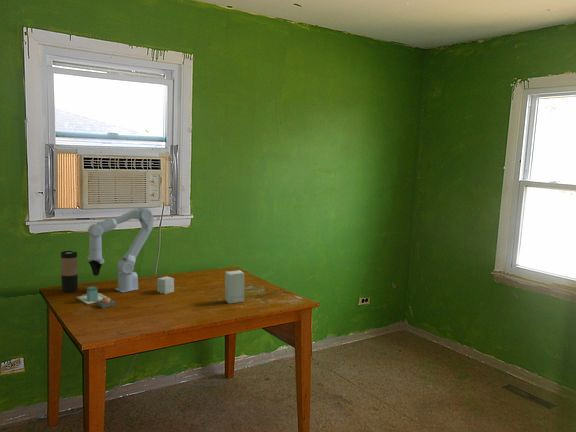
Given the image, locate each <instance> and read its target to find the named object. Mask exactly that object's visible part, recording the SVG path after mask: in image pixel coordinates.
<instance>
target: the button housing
mask: <svg viewBox="0 0 576 432" xmlns="http://www.w3.org/2000/svg"><path fill="white" fill-rule="evenodd" d="M111 299H112V298H111ZM111 299H110V302H108V303H102V300H101V301H97V303H96V306H97V305H98V306H97V307H99V306H100V307H99V308H101V307H102V308H101V309H106V308H105V307H108V308H111V307H110V306H113V307H116V301H114V300H111Z"/></svg>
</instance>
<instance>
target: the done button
mask: <svg viewBox="0 0 576 432" xmlns="http://www.w3.org/2000/svg"><path fill="white" fill-rule="evenodd" d="M108 297H109V296H107V297H106V298H102V303H108V302H110V298H111V297H109V298H108Z"/></svg>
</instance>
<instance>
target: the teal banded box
mask: <svg viewBox="0 0 576 432" xmlns="http://www.w3.org/2000/svg"><path fill="white" fill-rule="evenodd" d="M98 293H99V292H98V287H97V286H95V285H92V286H88V287H86V294H87V300H89V301H95V300H98Z"/></svg>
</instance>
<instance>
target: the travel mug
mask: <svg viewBox="0 0 576 432" xmlns="http://www.w3.org/2000/svg"><path fill="white" fill-rule="evenodd" d="M78 268H79V267H78V251H73V250H65V251H61V252H60V273H61V274H60V275H61V290H62V293H66V294H67V293H75V292H77V291H78V287H79V286H78V285H79V284H78V283H79V282H78V279H79V278H78V277H79V276H78V275H79V273H78Z"/></svg>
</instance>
